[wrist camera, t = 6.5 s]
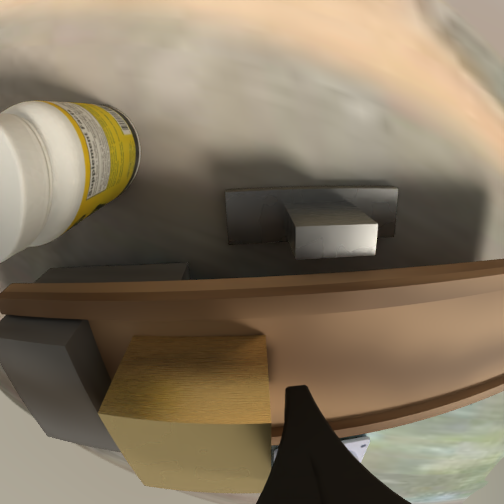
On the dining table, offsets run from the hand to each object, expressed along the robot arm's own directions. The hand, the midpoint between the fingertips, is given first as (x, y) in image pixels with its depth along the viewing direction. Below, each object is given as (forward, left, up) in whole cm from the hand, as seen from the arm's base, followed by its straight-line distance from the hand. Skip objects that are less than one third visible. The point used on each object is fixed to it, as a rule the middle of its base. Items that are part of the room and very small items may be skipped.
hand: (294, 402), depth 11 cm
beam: (0, -2, -6) cm, 6 cm away
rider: (0, +4, -1) cm, 4 cm away
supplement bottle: (+9, +8, -6) cm, 14 cm away
